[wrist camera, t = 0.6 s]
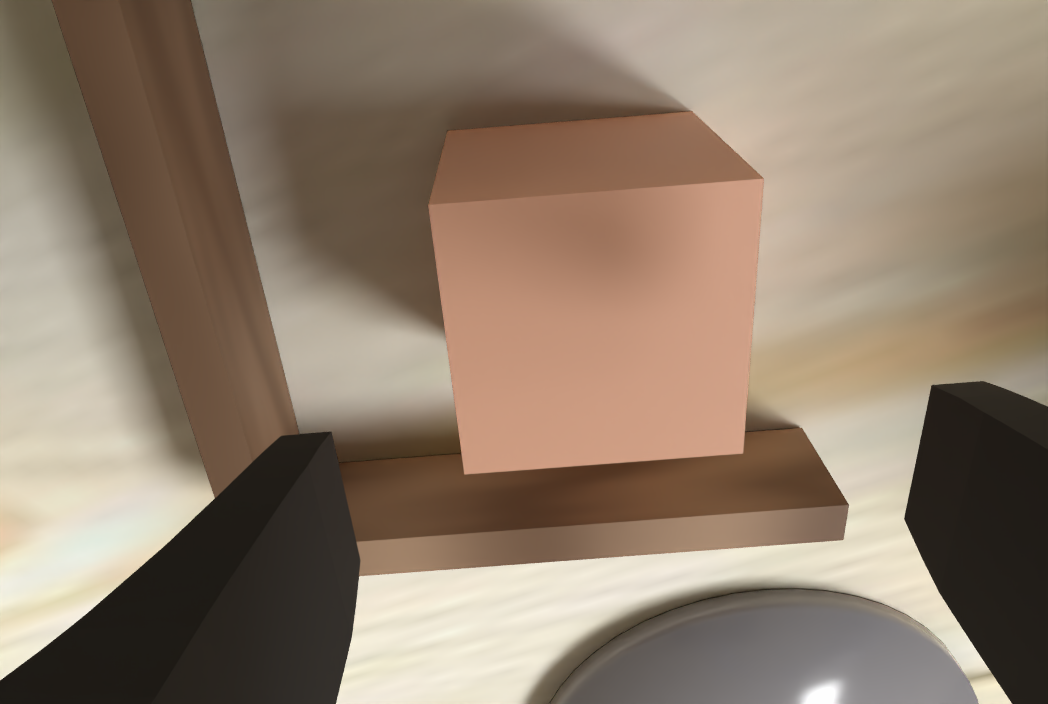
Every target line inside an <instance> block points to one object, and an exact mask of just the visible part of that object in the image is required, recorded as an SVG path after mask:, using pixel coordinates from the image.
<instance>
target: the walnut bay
mask: <svg viewBox="0 0 1048 704" xmlns="http://www.w3.org/2000/svg"><path fill="white" fill-rule="evenodd" d="M52 3H53V6H54V9H55V12H56V15H57V18H58V21H59V24H60V28H61V31H62V34H63V37H64V40H65V43H66V46H67V49H68V52H69V55H70V58H71V61H72V64H73V67H74V70H75V73H76V76H77V79H78V82H79V85H80V88H81V91H82V95H83V98H84V101H85V104H86V107H87V110H88V113H89V116H90V119H91V122H92V125H93V128H94V131H95V134H96V137H97V140H98V143H99V146H100V149H101V152H102V155H103V159H104V162H105V165H106V168H107V171H108V174H109V177H110V180H111V183H112V186H113V189H114V192H115V195H116V198H117V201H118V204H119V207H120V210H121V213H122V216H123V219H124V222H125V226H126V229H127V232H128V235H129V238H130V241H131V244H132V247H133V250H134V253H135V256H136V259H137V262H138V265H139V268H140V271H141V274H142V277H143V280H144V283H145V286H146V289H147V293H148V296H149V299H150V302H151V305H152V308H153V311H154V314H155V317H156V320H157V323H158V326H159V329H160V332H161V335H162V338H163V341H164V344H165V347H166V350H167V353H168V357H169V360H170V363H171V366H172V369H173V372H174V375H175V378H176V381H177V384H178V387H179V390H180V393H181V396H182V399H183V402H184V405H185V408H186V411H187V414H188V417H189V420H190V424H191V427H192V430H193V433H194V436H195V439H196V442H197V445H198V448H199V451H200V454H201V457H202V460H203V463H204V466H205V469H206V472H207V475H208V478H209V481H210V484H211V487H212V491H213V494H214V497H215V498H216V497H217V496H218V495H219V494H220V493H221V492H222V491H223V490H224V489H225V488H226V487H227V486H228V485H229V484H230V483H231V482H232V481H233V480H234V479H236V478H237V477H238V476H239V475H240V474H241V473H242V472H243V471H244V470H245V469H246V468H247V467H248V466H249V465H250V464H251V463H252V462H253V461H254V460H255V459H256V458H257V457H258V456H259V455H260V454H261V453H262V452H263V451H264V450H266V449H267V448H268V447H269V446H270V445H271V444H272V443H273V442H274V441H276V440H277V439H278V438H279V437H280V436H283V435H296V434H299V430H298V426H297V422H296V418H295V414H294V410H293V406H292V402H291V399H290V395H289V391H288V387H287V383H286V379H285V375H284V371H283V367H282V363H281V359H280V355H279V351H278V347H277V343H276V339H275V335H274V331H273V327H272V323H271V319H270V315H269V311H268V307H267V303H266V299H265V295H264V291H263V287H262V283H261V279H260V275H259V271H258V267H257V263H256V259H255V255H254V251H253V247H252V243H251V239H250V235H249V231H248V227H247V223H246V219H245V215H244V211H243V207H242V203H241V199H240V195H239V191H238V187H237V183H236V179H235V175H234V171H233V167H232V163H231V159H230V155H229V151H228V147H227V144H226V140H225V136H224V132H223V128H222V124H221V120H220V116H219V112H218V108H217V104H216V100H215V96H214V92H213V88H212V84H211V80H210V76H209V72H208V68H207V64H206V60H205V56H204V52H203V48H202V44H201V40H200V36H199V32H198V28H197V24H196V20H195V16H194V12H193V8H192V4H191V0H52ZM339 468H340V472H341V476H342V481H343V485H344V490H345V494H346V498H347V503H348V507H349V512H350V516H351V520H352V525H353V529H354V533H355V538H356V542H357V547H358V551H359V555H360V560H361V562H360V571H359V576H367V575H380V574H394V573H407V572H421V571H434V570H448V569H461V568H474V567H488V566H501V565H515V564H528V563H542V562H555V561H568V560H582V559H595V558H609V557H622V556H635V555H649V554H662V553H676V552H689V551H703V550H716V549H729V548H743V547H756V546H770V545H783V544H797V543H810V542H823V541H837V540H843V539H844V533H845V526H846V520H847V514H848V508H849V504H848V503H847V501H846V499H845V498H844V496H843V494H842V493H841V491H840V490H839V488H838V486H837V485H836V483H835V481H834V480H833V478H832V476H831V475H830V473H829V472H828V470H827V468H826V467H825V465H824V463H823V462H822V460H821V458H820V457H819V455H818V454H817V452H816V450H815V449H814V447H813V445H812V444H811V442H810V440H809V439H808V437H807V436H806V434H805V432H804V431H803V429H802V428H794V429H781V430H767V431H754V432H745V435H744V449H743V454H730V455H717V456H704V457H690V458H677V459H664V460H651V461H637V462H624V463H611V464H597V465H584V466H571V467H558V468H544V469H531V470H518V471H504V472H491V473H478V474H465V475H464V468H463V461H462V454H451V455H438V456H424V457H411V458H398V459H385V460H372V461H358V462H345V463H339Z"/></svg>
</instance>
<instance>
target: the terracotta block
mask: <svg viewBox="0 0 1048 704" xmlns="http://www.w3.org/2000/svg"><path fill="white" fill-rule="evenodd" d="M763 183H764V178H763V177H762V176H760V175H759V174H758V173H757V172H756V171H755V170H754V169H753V168H752V167H751V166H750V165H749V164H748V163H747V162H746V161H744V160H743V159H742V158H741V157H740V156H739V155H738V154H737V153H736V152H735V151H734V150H733V149H732V148H731V147H729V146H728V145H727V144H726V143H725V142H724V141H723V140H722V139H721V138H720V137H719V136H718V135H717V134H716V133H715V132H713V131H712V130H711V129H710V128H709V127H708V126H707V125H706V124H705V123H704V122H703V121H702V120H701V119H700V118H699V117H697V116H696V115H695V114H694V113H693V112H692V111H688V112H675V113H663V114H650V115H638V116H625V117H613V118H600V119H587V120H575V121H562V122H550V123H537V124H525V125H512V126H500V127H487V128H474V129H462V130H449V131H447V134H446V138H445V142H444V146H443V149H442V153H441V157H440V161H439V165H438V169H437V173H436V176H435V180H434V184H433V188H432V192H431V196H430V200H429V204H428V208H429V215H430V223H431V230H432V238H433V245H434V253H435V260H436V267H437V275H438V282H439V290H440V297H441V305H442V312H443V319H444V327H445V334H446V342H447V349H448V357H449V364H450V371H451V379H452V386H453V394H454V401H455V409H456V416H457V423H458V431H459V438H460V446H461V453H462V461H463V468H464V475H465V474H478V473H491V472H504V471H518V470H531V469H544V468H558V467H571V466H584V465H597V464H611V463H624V462H637V461H651V460H664V459H677V458H690V457H704V456H717V455H730V454H743V449H744V435H745V422H746V409H747V396H748V382H749V369H750V356H751V343H752V329H753V316H754V303H755V290H756V276H757V263H758V250H759V236H760V223H761V210H762V197H763Z"/></svg>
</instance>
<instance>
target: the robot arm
mask: <svg viewBox="0 0 1048 704" xmlns="http://www.w3.org/2000/svg"><path fill="white" fill-rule="evenodd" d="M904 519H905V522H906V524H907V526H908V528H909V530H910V533H911V535H912V537H913V539H914V541H915V544H916V546H917V548H918V550H919V552H920V555H921V557H922V559H923V561H924V563H925V565H926V567H927V569H928V571H929V573H930V575H931V577H932V579H933V581H934V583H935V585H936V587H937V589H938V591H939V593H940V594H941V596H942V597H943V599H944V601H945V602H946V604H947V605H948V607H949V609H950V610H951V612H952V613H953V615H954V616H955V618H956V619H957V621H958V622H959V624H960V625H961V627H962V629H963V630H964V632H965V633H966V635H967V636H968V638H969V639H970V641H971V642H972V644H973V645H974V647H975V648H976V650H977V652H978V653H979V655H980V656H981V658H982V659H983V661H984V662H985V664H986V665H987V667H988V668H989V670H990V671H991V673H992V674H993V676H994V677H995V679H996V680H997V682H998V683H999V685H1000V686H1001V688H1002V689H1003V691H1004V692H1005V694H1006V695H1007V697H1008V698H1009V700H1010V701H1011V703H1012V704H1048V407H1047V406H1045V405H1043V404H1040V403H1038V402H1036V401H1033V400H1031V399H1029V398H1026V397H1024V396H1021V395H1019V394H1017V393H1014V392H1012V391H1009V390H1006V389H1004V388H1001V387H998V386H995V385H993V384H990V383H987V382H984V381H980V382H967V383H954V384H941V385H932V386H931V391H930V396H929V401H928V406H927V411H926V415H925V420H924V425H923V430H922V435H921V440H920V445H919V449H918V454H917V459H916V464H915V469H914V474H913V479H912V484H911V488H910V493H909V498H908V503H907V508H906V513H905V518H904ZM360 562H361V560H360V555H359V551H358V547H357V542H356V538H355V533H354V529H353V525H352V520H351V516H350V512H349V507H348V503H347V498H346V494H345V490H344V485H343V481H342V476H341V472H340V468H339V463H338V459H337V454H336V450H335V446H334V441H333V437H332V432H322V433H309V434H296V435H283V436H280V437H279V438H278V439H277V440H276V441H274V442H273V443H272V444H271V445H270V446H269V447H268V448H267V449H266V450H264V451H263V452H262V453H261V454H260V455H259V456H258V457H257V458H256V459H255V460H254V461H253V462H252V463H251V464H250V465H249V466H248V467H247V468H246V469H245V470H244V471H243V472H242V473H241V474H240V475H239V476H238V477H237V478H236V479H234V480H233V481H232V482H231V483H230V484H229V485H228V486H227V487H226V488H225V489H224V490H223V491H222V492H221V493H220V494H219V495H218V496H217V497H216V498H215V499H214V500H213V501H212V502H211V503H210V504H209V505H208V506H207V507H205V508H204V509H203V510H202V511H201V512H200V513H199V514H198V515H197V516H196V517H195V518H194V519H193V520H192V521H191V522H190V523H189V524H188V525H186V526H185V527H184V528H183V529H182V530H181V531H180V532H179V533H178V534H177V535H176V536H175V537H174V538H173V539H172V540H171V541H170V542H168V543H167V544H166V545H165V546H164V547H163V548H162V549H161V550H160V551H158V552H157V553H156V554H155V555H154V556H153V557H152V558H150V559H149V560H148V561H147V562H146V563H145V564H144V565H142V566H141V567H140V568H139V569H138V570H137V571H135V572H134V573H133V574H132V575H131V576H130V577H129V578H127V579H126V580H125V581H124V582H123V583H122V584H121V585H119V586H118V587H117V588H116V589H115V590H114V591H112V592H111V593H110V594H109V595H108V596H107V597H106V598H104V599H103V600H102V601H101V602H100V603H99V604H98V605H96V606H95V607H94V608H93V609H92V610H91V611H89V612H88V613H87V614H86V615H85V616H83V617H82V618H81V619H80V620H78V621H77V622H76V623H75V624H74V625H72V626H71V627H70V628H69V629H67V630H66V631H65V632H64V633H62V634H61V635H60V636H58V637H57V638H56V639H55V640H53V641H52V642H51V643H50V644H48V645H47V646H46V647H44V648H43V649H42V650H41V651H39V652H38V653H37V654H35V655H34V656H33V657H31V658H30V659H29V660H27V661H26V662H25V663H23V664H22V665H21V666H19V667H18V668H16V669H15V670H14V671H12V672H11V673H10V674H8V675H7V676H6V677H4V678H3V679H2V680H0V704H336V700H337V696H338V692H339V688H340V684H341V680H342V676H343V672H344V668H345V663H346V659H347V655H348V651H349V647H350V642H351V638H352V631H353V623H354V615H355V608H356V599H357V590H358V581H359V571H360Z"/></svg>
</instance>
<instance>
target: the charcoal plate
mask: <svg viewBox="0 0 1048 704" xmlns="http://www.w3.org/2000/svg"><path fill="white" fill-rule="evenodd" d="M550 704H978V700H977V697H976V695H975V693H974V691H973V688H972V686H971V684H970V682H969V680H968V679H967V677H966V675H965V674H964V672H963V671H962V669H961V667H960V666H959V664H958V663H957V661H956V659H955V658H954V657H953V655H952V654H951V653H950V651H949V650H948V649H947V647H946V646H945V645H944V643H943V642H942V641H941V640H940V639H938V638H937V637H936V636H935V635H934V634H933V633H932V632H931V631H930V630H929V629H927V628H926V627H925V626H923V625H921V624H920V623H918V622H917V621H915V620H914V619H912V618H911V617H909V616H908V615H906V614H903V613H901V612H899V611H897V610H895V609H892V608H890V607H888V606H886V605H883V604H880V603H877V602H874V601H870V600H867V599H864V598H860V597H857V596H852V595H846V594H841V593H835V592H830V591H818V590H805V589H777V590H760V591H751V592H743V593H735V594H730V595H725V596H720V597H716V598H711V599H707V600H702V601H699V602H696V603H692V604H689V605H686V606H683V607H680V608H677V609H674V610H671V611H668V612H666V613H664V614H661V615H659V616H657V617H654V618H652V619H649V620H647V621H645V622H643V623H641V624H639V625H637V626H635V627H633V628H632V629H630V630H628V631H626V632H624V633H623V634H621V635H619V636H617V637H616V638H614V639H613V640H611V641H610V642H609V643H607V644H606V645H604V646H603V647H601V648H600V649H599V650H597V651H596V652H594V653H593V654H592V655H591V656H590V657H589V658H588V659H586V660H585V661H584V662H583V663H582V664H581V665H580V666H579V667H578V668H576V669H575V670H574V672H573V673H572V674H571V675H570V676H569V677H568V679H567V680H566V681H565V682H564V683H563V684H562V686H561V687H560V688H559V690H558V691H557V693H556V694H555V696H554V698H553V699H552V701H551V702H550Z"/></svg>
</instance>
